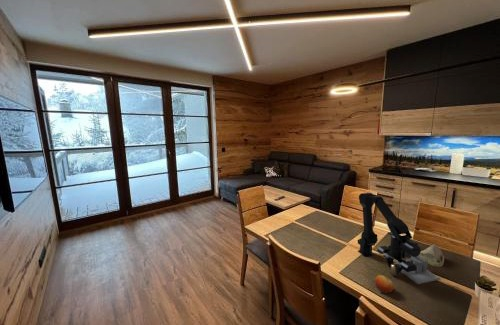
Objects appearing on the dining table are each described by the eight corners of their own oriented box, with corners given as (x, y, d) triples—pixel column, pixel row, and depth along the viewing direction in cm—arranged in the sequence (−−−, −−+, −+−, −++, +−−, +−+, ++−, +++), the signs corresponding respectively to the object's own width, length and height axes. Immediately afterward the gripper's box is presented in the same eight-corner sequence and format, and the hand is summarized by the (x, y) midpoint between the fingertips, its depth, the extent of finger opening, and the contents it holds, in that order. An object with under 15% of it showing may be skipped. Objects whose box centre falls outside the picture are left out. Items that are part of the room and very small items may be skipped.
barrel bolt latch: (418, 284, 107) (419, 271, 105) (390, 264, 122) (392, 253, 121) (439, 279, 110) (441, 266, 108) (410, 261, 125) (411, 249, 124)
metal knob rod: (394, 276, 111) (395, 267, 110) (388, 272, 114) (389, 263, 113) (421, 270, 114) (422, 262, 114) (414, 266, 118) (415, 258, 117)
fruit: (367, 282, 107) (376, 269, 106) (379, 288, 108) (387, 276, 107) (378, 294, 99) (387, 281, 98) (391, 301, 100) (400, 287, 99)
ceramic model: (439, 269, 117) (441, 253, 116) (415, 259, 127) (417, 244, 125) (447, 260, 125) (450, 245, 123) (424, 251, 134) (426, 237, 133)
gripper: (427, 253, 103) (423, 281, 105) (393, 235, 121) (391, 259, 123) (409, 256, 101) (405, 285, 103) (377, 237, 119) (375, 262, 121)
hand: (394, 272), depth 113 cm, fingers closed on metal knob rod, 4 cm apart
